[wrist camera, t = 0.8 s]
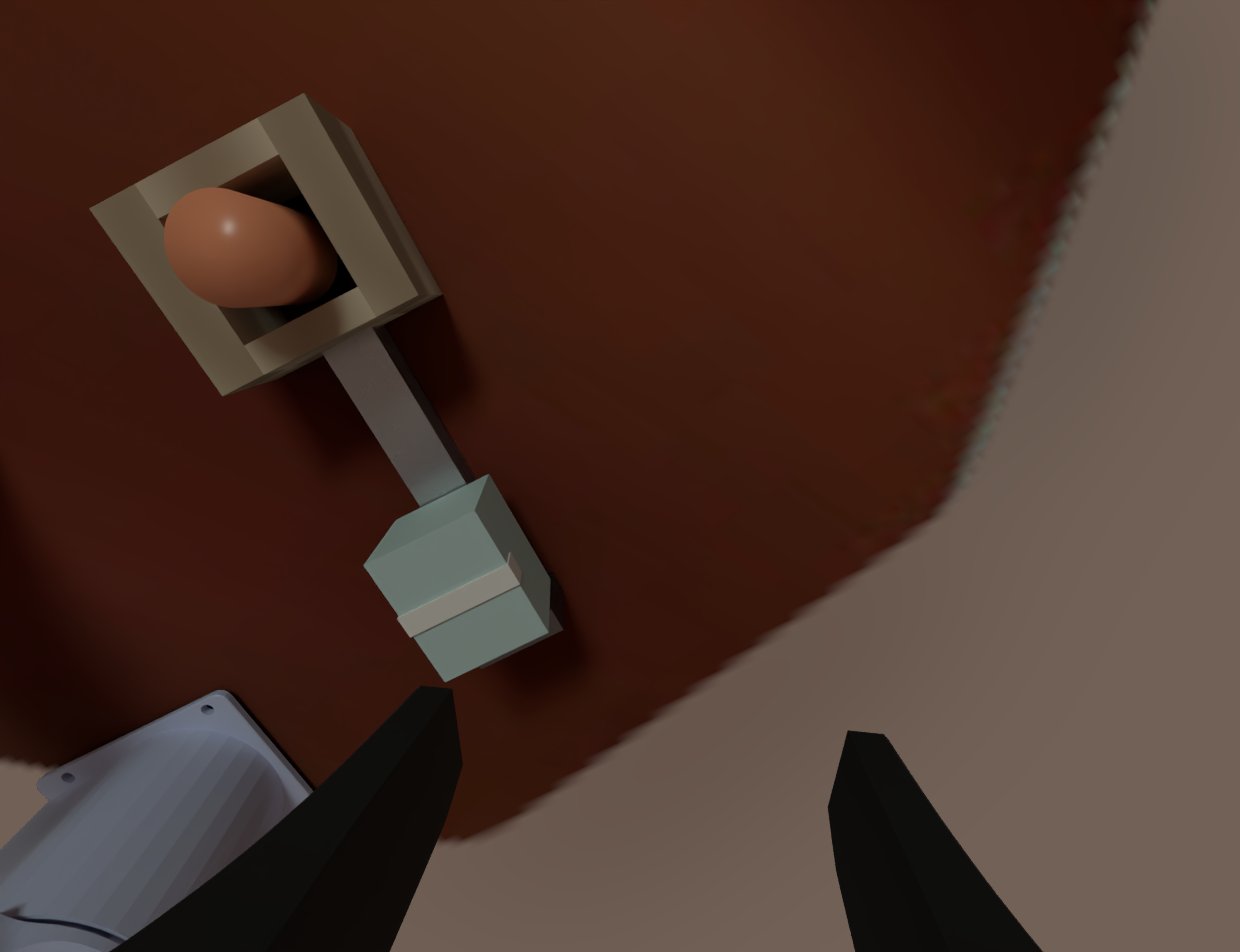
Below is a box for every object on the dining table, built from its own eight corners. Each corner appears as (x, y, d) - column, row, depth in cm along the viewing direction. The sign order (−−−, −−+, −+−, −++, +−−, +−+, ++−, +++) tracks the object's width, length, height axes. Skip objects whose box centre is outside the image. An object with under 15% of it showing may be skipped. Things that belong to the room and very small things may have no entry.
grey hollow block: (279, 378, 23) (222, 396, 19) (174, 223, 21) (89, 208, 17) (442, 294, 22) (418, 295, 19) (351, 129, 21) (303, 92, 17)
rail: (490, 626, 27) (481, 669, 24) (318, 358, 23) (280, 368, 20) (563, 590, 27) (563, 629, 23) (402, 315, 23) (377, 318, 20)
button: (277, 320, 20) (211, 326, 17) (221, 233, 19) (138, 220, 16) (355, 279, 20) (307, 277, 16) (302, 190, 19) (238, 166, 16)
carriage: (461, 622, 25) (443, 684, 21) (394, 520, 23) (361, 567, 19) (551, 578, 24) (550, 633, 21) (490, 473, 23) (475, 511, 19)
